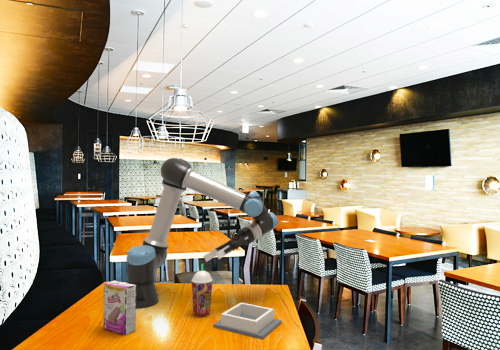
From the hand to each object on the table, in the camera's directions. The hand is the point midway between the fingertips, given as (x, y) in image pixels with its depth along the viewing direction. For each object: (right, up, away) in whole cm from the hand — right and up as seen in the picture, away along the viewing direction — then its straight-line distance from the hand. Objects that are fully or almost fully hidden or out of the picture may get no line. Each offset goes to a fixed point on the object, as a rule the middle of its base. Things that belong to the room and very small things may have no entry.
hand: (210, 257), depth 151 cm
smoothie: (-3, -21, -7) cm, 22 cm away
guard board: (+15, -21, -17) cm, 31 cm away
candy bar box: (-30, -21, -23) cm, 43 cm away
